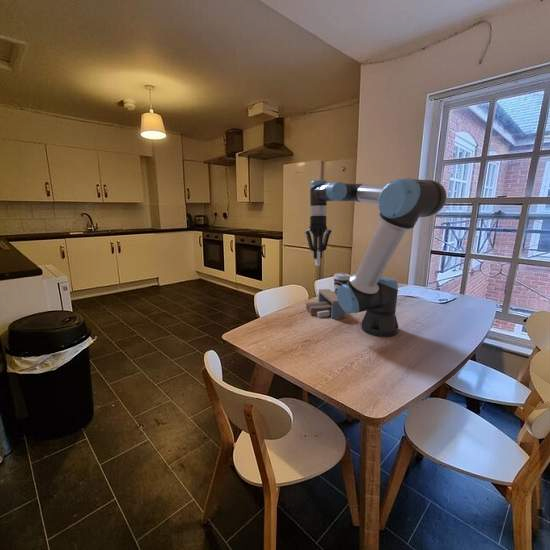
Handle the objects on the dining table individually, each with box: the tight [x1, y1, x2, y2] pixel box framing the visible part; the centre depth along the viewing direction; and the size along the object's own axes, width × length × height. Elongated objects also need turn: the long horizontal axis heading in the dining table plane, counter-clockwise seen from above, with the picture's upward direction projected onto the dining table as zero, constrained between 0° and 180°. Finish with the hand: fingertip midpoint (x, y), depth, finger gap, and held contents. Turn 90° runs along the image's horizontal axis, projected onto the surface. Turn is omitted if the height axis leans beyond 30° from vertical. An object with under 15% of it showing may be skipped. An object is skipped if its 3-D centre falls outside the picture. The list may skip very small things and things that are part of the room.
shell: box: [305, 301, 332, 316], centre depth 148 cm, size 9×12×4 cm
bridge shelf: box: [316, 288, 345, 319], centre depth 148 cm, size 20×12×9 cm, turn 11°
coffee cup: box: [333, 272, 351, 294], centre depth 165 cm, size 10×10×15 cm
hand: (317, 265), depth 140 cm, fingers closed
